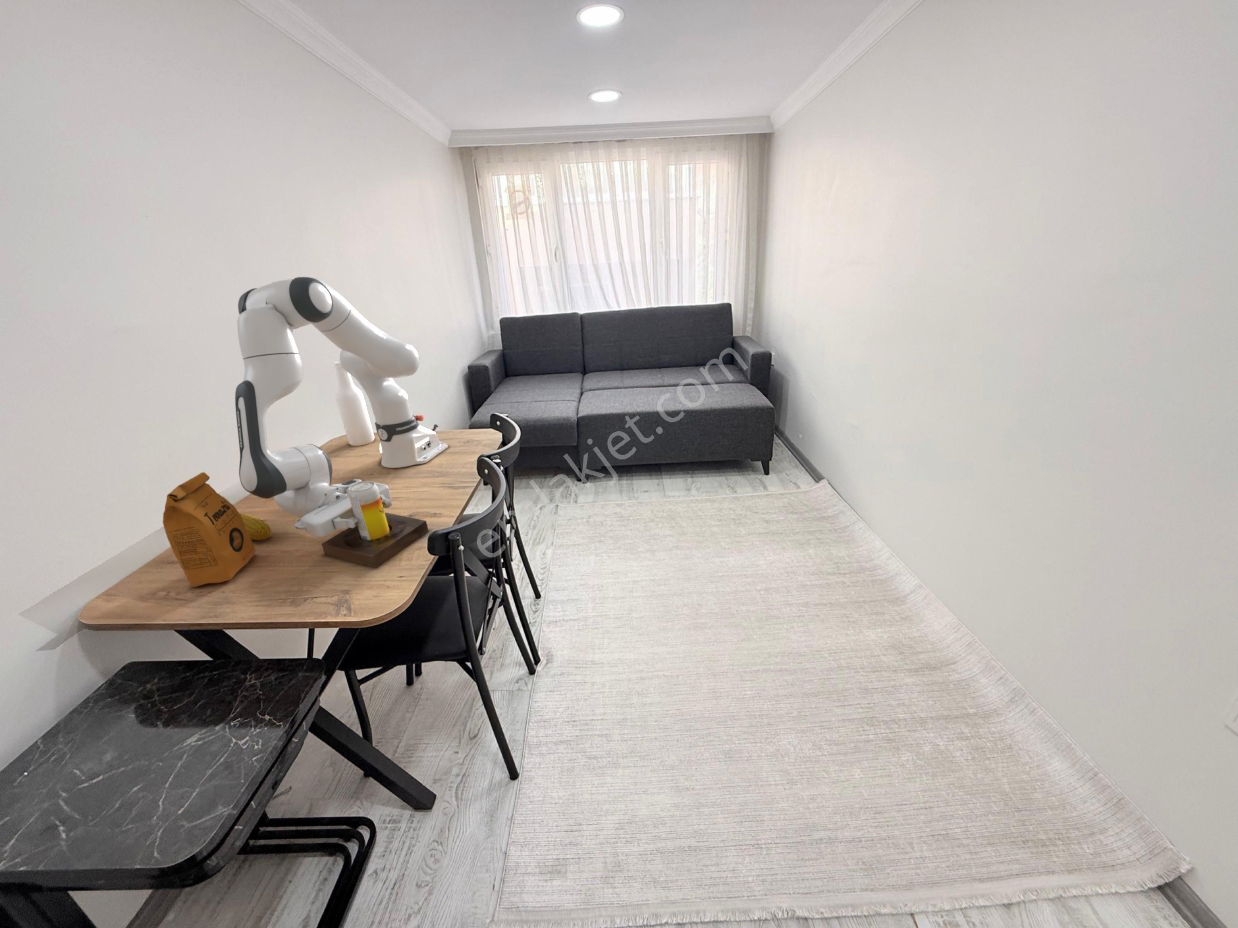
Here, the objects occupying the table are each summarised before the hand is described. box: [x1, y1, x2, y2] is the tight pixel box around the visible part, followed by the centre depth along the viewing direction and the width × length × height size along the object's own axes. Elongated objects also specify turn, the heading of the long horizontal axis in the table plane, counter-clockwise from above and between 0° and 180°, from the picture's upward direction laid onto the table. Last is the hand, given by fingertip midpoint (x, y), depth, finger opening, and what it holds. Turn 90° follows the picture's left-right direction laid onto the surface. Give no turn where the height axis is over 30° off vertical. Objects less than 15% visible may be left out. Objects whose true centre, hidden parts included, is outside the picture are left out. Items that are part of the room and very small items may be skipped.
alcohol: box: [333, 360, 376, 447], centre depth 177 cm, size 9×9×30 cm
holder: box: [321, 512, 429, 569], centre depth 116 cm, size 16×16×3 cm
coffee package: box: [162, 471, 256, 588], centre depth 105 cm, size 10×12×22 cm
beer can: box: [348, 480, 390, 540], centre depth 113 cm, size 6×6×15 cm
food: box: [239, 512, 273, 541], centre depth 122 cm, size 21×6×6 cm, turn 69°
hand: (372, 513), depth 113 cm, fingers open, 8 cm apart
